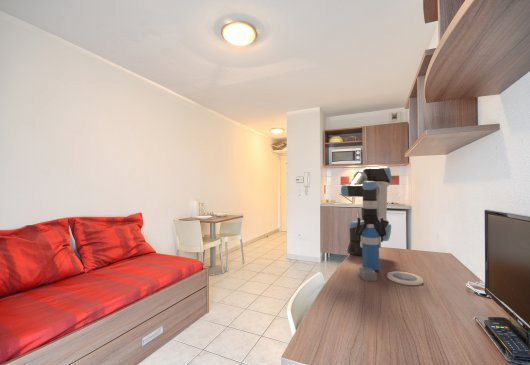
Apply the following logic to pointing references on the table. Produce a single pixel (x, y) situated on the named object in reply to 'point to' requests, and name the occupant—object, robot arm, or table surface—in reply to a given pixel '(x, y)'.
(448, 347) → the table surface
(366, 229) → the water bottle
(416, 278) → the cream plate
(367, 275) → the box
